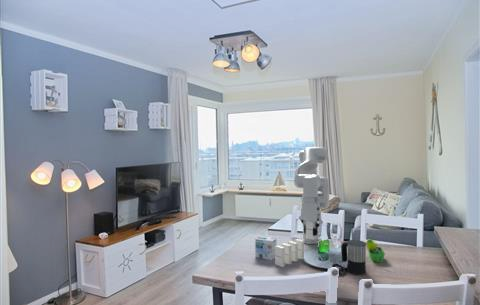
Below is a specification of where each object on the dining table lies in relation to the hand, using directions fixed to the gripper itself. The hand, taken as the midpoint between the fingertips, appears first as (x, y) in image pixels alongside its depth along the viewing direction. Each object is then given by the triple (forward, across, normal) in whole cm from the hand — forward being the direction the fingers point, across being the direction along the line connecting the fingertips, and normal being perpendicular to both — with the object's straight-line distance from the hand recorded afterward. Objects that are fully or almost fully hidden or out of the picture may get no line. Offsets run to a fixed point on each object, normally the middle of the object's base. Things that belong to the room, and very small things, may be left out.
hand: (310, 233), depth 176 cm
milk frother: (+17, -18, -7) cm, 26 cm away
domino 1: (+17, +12, +11) cm, 24 cm away
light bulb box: (+17, +26, +7) cm, 32 cm away
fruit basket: (+17, -19, -34) cm, 42 cm away
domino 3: (+17, +12, 0) cm, 21 cm away
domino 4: (+17, +12, -5) cm, 21 cm away
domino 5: (+2, 0, 0) cm, 2 cm away
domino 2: (+17, +12, +6) cm, 21 cm away
